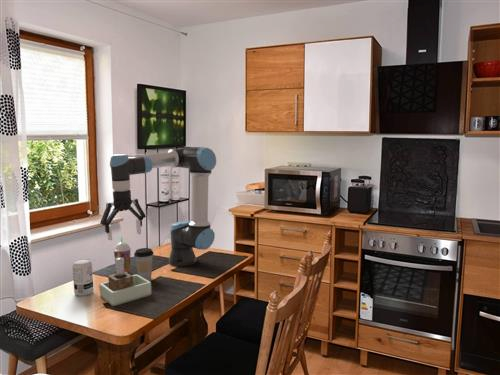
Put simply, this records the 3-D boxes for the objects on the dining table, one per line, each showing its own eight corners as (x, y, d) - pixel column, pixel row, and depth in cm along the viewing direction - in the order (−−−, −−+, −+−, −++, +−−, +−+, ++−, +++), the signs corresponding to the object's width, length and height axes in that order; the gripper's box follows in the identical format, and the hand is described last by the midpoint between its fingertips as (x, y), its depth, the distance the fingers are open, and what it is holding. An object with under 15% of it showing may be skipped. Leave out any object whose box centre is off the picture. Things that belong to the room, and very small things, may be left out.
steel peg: (123, 282, 187) (121, 256, 186) (126, 284, 185) (125, 258, 183) (115, 284, 185) (114, 258, 183) (118, 286, 182) (117, 260, 181)
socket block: (126, 291, 191) (125, 271, 190) (134, 297, 185) (132, 276, 184) (109, 296, 186) (108, 275, 185) (116, 302, 180) (115, 280, 179)
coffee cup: (149, 283, 202) (148, 253, 199) (131, 282, 204) (130, 252, 201) (157, 276, 211) (156, 248, 209) (140, 275, 213) (139, 247, 210)
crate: (137, 286, 198) (136, 274, 197) (151, 294, 188) (150, 282, 187) (100, 296, 186) (99, 283, 186) (113, 306, 176) (112, 292, 175)
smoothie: (119, 278, 209) (117, 239, 206) (112, 274, 215) (110, 236, 212) (134, 274, 214) (132, 236, 211) (127, 270, 220) (125, 233, 217)
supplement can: (74, 291, 193) (72, 260, 190) (93, 288, 196) (91, 257, 194) (74, 297, 185) (72, 265, 183) (94, 294, 188) (92, 263, 186)
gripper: (143, 185, 192) (146, 229, 196) (89, 192, 176) (93, 240, 180) (151, 187, 187) (154, 232, 190) (96, 194, 171) (100, 244, 174)
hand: (124, 236), depth 185 cm, fingers open, 13 cm apart
